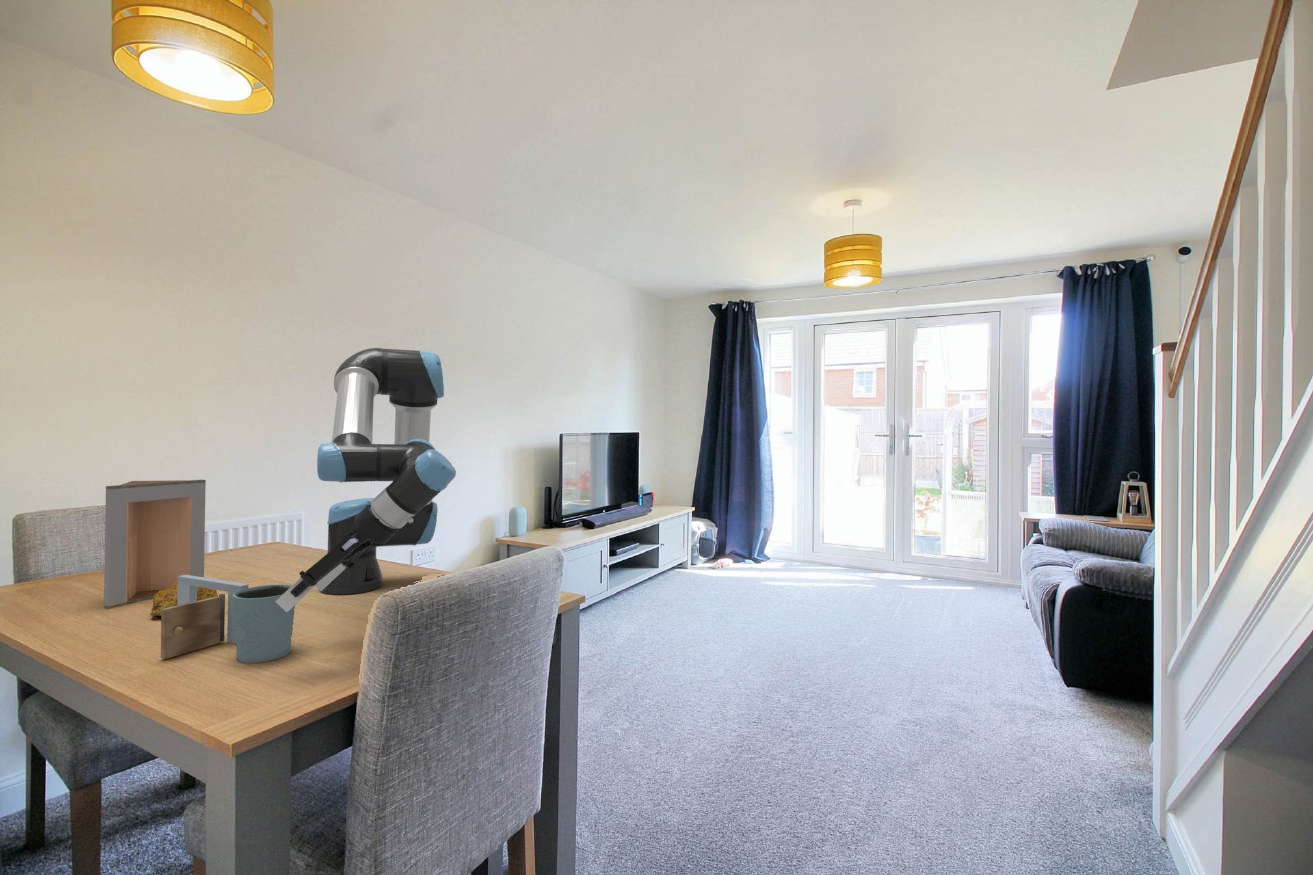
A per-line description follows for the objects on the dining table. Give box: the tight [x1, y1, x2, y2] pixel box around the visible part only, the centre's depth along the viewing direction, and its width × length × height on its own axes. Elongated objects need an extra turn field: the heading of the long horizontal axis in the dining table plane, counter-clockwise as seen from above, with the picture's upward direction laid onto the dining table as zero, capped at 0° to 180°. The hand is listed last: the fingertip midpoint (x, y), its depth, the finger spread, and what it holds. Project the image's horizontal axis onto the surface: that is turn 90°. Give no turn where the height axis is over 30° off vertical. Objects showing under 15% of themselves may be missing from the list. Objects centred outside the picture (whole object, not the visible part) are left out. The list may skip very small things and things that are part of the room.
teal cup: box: [233, 584, 296, 664], centre depth 113 cm, size 10×10×12 cm
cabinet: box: [103, 479, 207, 610], centre depth 147 cm, size 21×10×28 cm, turn 161°
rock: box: [150, 582, 219, 617], centre depth 135 cm, size 11×8×10 cm
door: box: [160, 593, 226, 660], centre depth 113 cm, size 10×2×9 cm, turn 156°
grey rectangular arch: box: [177, 575, 249, 645], centre depth 121 cm, size 18×2×12 cm, turn 71°
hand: (299, 595), depth 112 cm, fingers open, 13 cm apart
